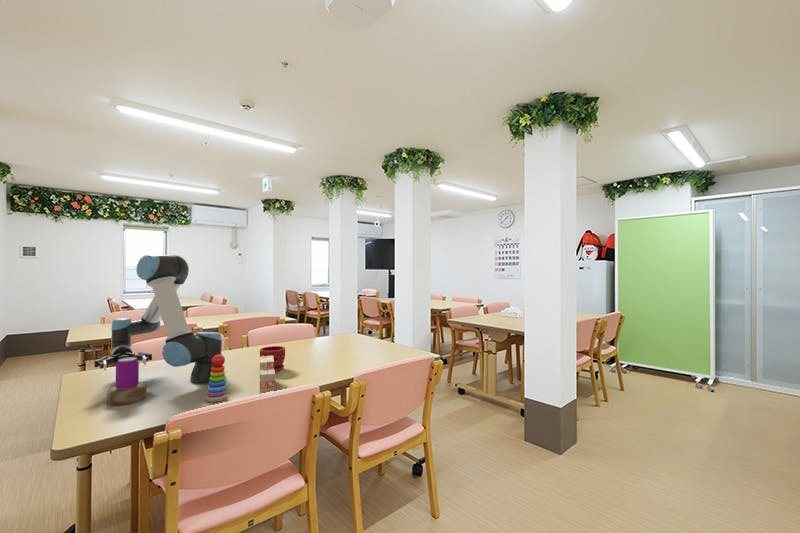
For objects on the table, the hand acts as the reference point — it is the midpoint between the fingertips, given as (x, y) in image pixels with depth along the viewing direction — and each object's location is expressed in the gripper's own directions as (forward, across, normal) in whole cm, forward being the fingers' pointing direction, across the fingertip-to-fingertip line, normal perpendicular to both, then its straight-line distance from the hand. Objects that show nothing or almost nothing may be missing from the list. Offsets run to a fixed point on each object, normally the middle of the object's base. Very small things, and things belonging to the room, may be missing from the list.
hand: (125, 364), depth 152 cm
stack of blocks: (+26, -51, -14) cm, 59 cm away
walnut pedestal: (+5, 0, -14) cm, 15 cm away
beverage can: (+5, 0, -9) cm, 10 cm away
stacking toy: (+27, -29, -14) cm, 42 cm away
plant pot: (+1, -63, -14) cm, 65 cm away
